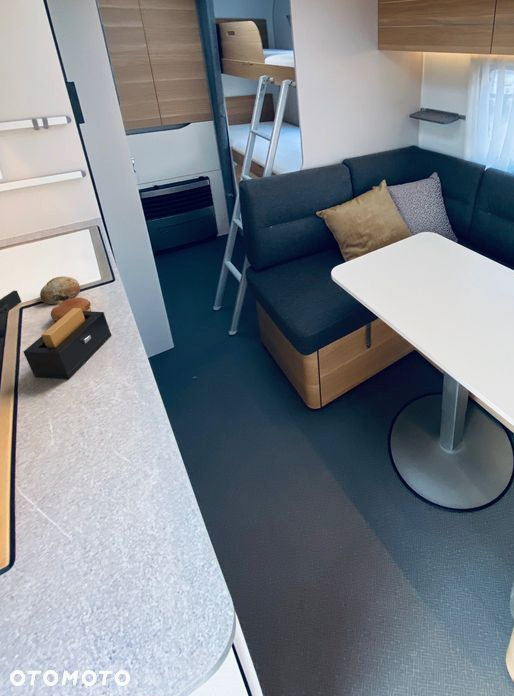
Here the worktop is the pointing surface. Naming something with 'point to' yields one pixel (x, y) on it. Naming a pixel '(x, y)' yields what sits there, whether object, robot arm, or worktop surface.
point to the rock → (59, 290)
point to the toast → (63, 328)
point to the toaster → (69, 349)
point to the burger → (69, 307)
